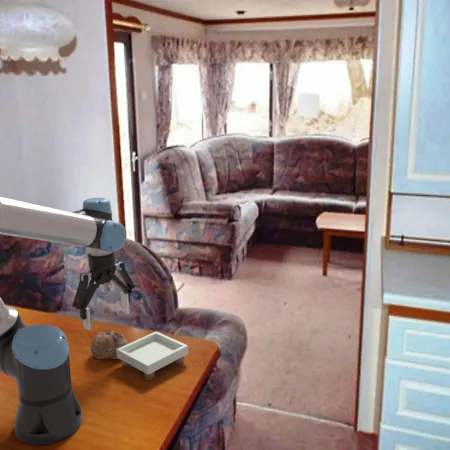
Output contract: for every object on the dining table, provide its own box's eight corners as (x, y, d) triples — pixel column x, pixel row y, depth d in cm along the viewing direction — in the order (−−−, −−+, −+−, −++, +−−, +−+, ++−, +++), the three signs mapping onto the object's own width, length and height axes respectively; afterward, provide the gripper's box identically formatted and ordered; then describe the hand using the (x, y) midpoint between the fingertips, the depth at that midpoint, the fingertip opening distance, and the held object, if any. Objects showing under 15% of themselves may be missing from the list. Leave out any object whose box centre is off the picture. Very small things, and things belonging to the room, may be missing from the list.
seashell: (111, 366, 143) (96, 334, 144) (94, 372, 148) (80, 341, 149) (138, 351, 151) (124, 320, 152) (121, 357, 157) (108, 328, 157)
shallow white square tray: (148, 382, 136) (147, 365, 134) (117, 365, 145) (116, 349, 143) (188, 361, 146) (188, 345, 145) (157, 346, 155) (156, 331, 154)
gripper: (69, 266, 131) (77, 339, 137) (143, 244, 149) (148, 309, 155) (54, 260, 136) (62, 331, 142) (128, 239, 154) (132, 303, 160)
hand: (107, 320), depth 148 cm, fingers open, 13 cm apart
